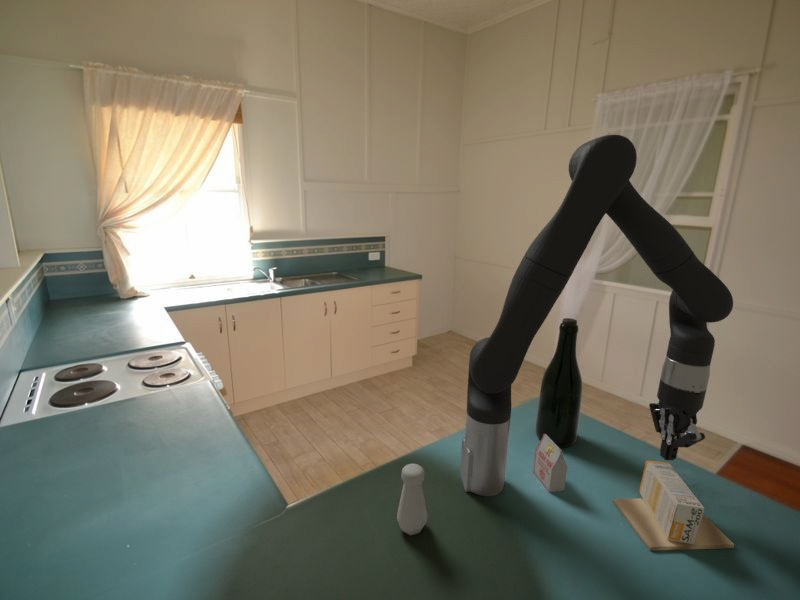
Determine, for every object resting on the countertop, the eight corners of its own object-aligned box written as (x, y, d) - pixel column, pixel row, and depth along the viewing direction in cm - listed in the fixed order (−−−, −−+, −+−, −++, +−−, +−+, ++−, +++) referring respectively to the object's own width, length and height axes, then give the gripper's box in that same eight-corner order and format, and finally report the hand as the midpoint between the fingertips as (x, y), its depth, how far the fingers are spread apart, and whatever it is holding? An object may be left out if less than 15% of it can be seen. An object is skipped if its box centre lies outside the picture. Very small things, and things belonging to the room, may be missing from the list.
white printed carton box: (547, 470, 95) (552, 432, 92) (564, 490, 88) (569, 450, 86) (533, 472, 94) (537, 434, 91) (548, 492, 88) (553, 452, 85)
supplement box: (661, 494, 86) (695, 545, 74) (637, 491, 87) (667, 541, 74) (670, 461, 84) (706, 508, 72) (645, 458, 85) (677, 504, 72)
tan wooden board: (649, 550, 73) (650, 547, 73) (612, 502, 85) (613, 499, 85) (733, 547, 74) (734, 544, 74) (685, 500, 86) (686, 497, 86)
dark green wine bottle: (564, 453, 101) (581, 328, 93) (527, 435, 108) (539, 318, 100) (583, 438, 108) (600, 320, 100) (546, 421, 115) (559, 311, 107)
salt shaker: (430, 520, 79) (432, 462, 76) (422, 542, 74) (424, 482, 71) (402, 512, 81) (403, 456, 78) (392, 533, 76) (393, 474, 73)
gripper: (643, 367, 85) (630, 439, 89) (690, 397, 72) (672, 480, 76) (677, 367, 85) (662, 439, 90) (730, 397, 72) (710, 479, 77)
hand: (667, 458), depth 83 cm, fingers closed
